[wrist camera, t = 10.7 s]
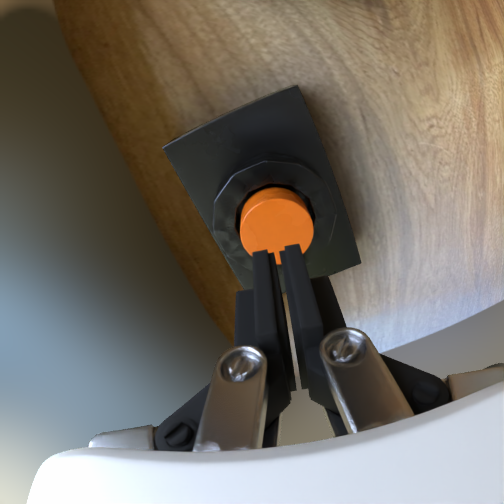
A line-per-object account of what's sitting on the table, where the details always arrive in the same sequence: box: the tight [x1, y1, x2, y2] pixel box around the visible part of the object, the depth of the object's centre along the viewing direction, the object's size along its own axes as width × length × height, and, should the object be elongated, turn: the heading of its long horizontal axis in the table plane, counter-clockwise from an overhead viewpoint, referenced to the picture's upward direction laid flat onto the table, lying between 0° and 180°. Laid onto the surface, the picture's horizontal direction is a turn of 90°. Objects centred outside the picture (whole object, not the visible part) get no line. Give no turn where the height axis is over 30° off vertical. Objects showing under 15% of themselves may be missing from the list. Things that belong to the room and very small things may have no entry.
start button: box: [240, 187, 314, 264], centre depth 15 cm, size 4×4×2 cm
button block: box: [163, 85, 361, 293], centre depth 18 cm, size 12×8×4 cm, turn 25°
